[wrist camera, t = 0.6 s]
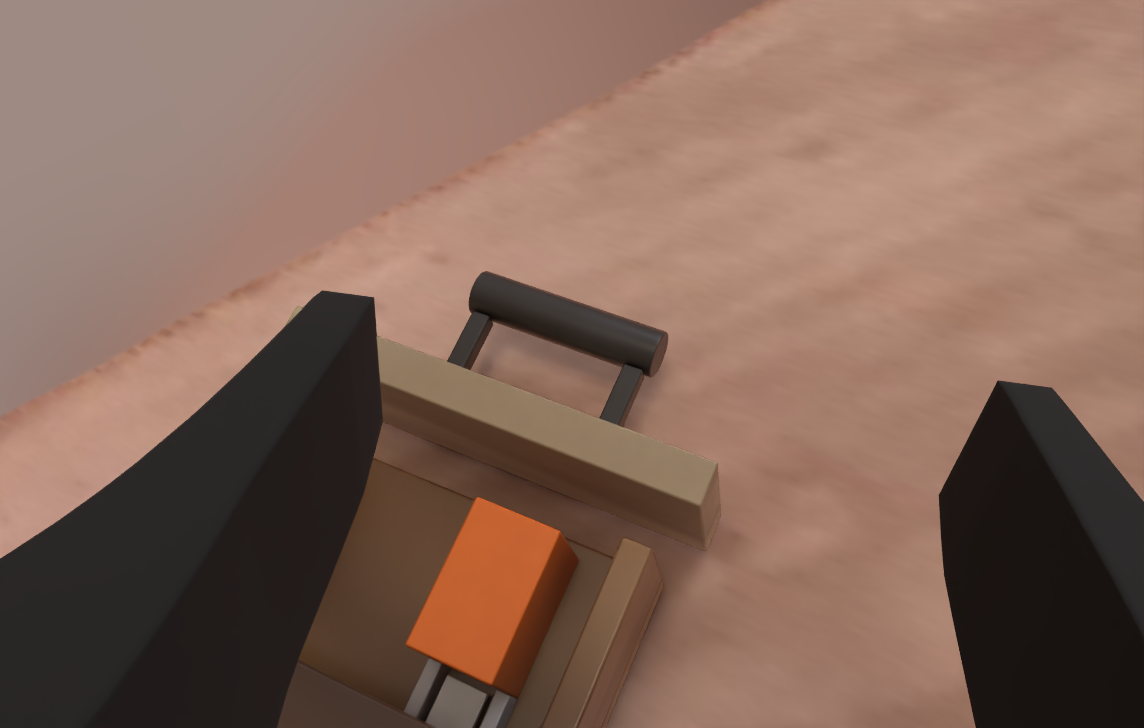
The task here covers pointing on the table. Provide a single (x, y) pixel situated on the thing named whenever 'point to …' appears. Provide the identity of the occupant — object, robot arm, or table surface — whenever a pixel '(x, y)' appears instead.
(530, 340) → the table surface
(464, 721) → the block
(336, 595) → the drawer
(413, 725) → the cabinet
